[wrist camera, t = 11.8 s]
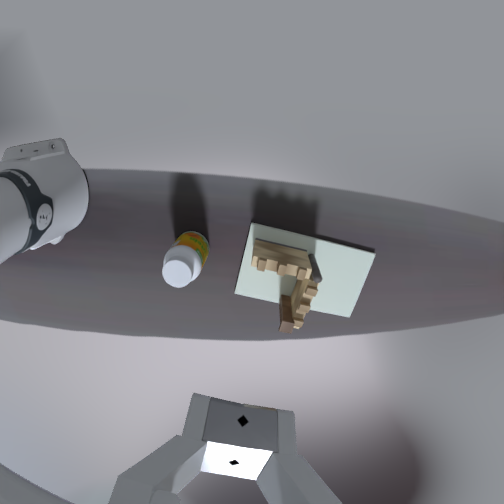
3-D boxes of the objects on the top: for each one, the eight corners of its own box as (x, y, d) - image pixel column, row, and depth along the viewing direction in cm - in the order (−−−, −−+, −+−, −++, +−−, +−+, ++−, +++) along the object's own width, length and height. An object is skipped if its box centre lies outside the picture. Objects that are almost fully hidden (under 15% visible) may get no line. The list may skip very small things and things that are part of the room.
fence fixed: (252, 248, 48) (250, 269, 41) (255, 239, 47) (253, 258, 41) (313, 262, 48) (320, 285, 42) (316, 253, 48) (323, 275, 41)
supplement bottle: (216, 248, 49) (205, 276, 40) (193, 269, 50) (178, 299, 41) (192, 223, 48) (175, 246, 39) (169, 245, 49) (149, 272, 40)
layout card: (234, 291, 52) (234, 293, 51) (251, 222, 47) (251, 223, 46) (348, 315, 52) (349, 317, 52) (374, 252, 48) (375, 254, 47)
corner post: (277, 302, 51) (278, 331, 44) (280, 292, 51) (282, 321, 43) (288, 304, 51) (291, 333, 44) (291, 295, 51) (294, 323, 43)
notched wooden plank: (304, 262, 48) (310, 282, 42) (313, 264, 48) (320, 285, 42) (287, 305, 51) (289, 329, 45) (295, 307, 51) (299, 332, 45)
